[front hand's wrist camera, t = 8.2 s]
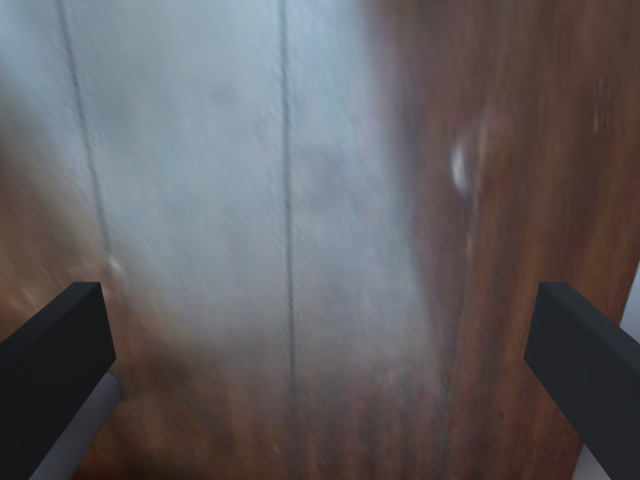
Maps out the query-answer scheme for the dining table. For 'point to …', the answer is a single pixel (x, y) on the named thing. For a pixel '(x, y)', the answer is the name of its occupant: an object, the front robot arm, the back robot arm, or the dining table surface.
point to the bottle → (80, 432)
